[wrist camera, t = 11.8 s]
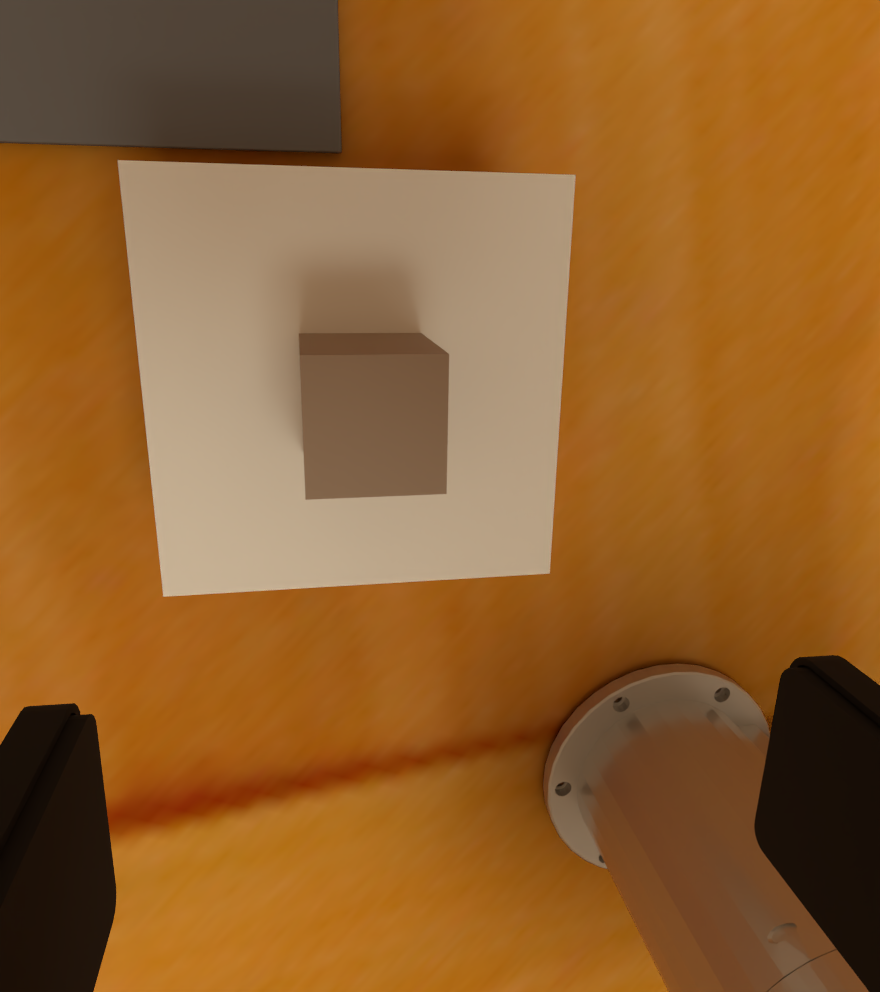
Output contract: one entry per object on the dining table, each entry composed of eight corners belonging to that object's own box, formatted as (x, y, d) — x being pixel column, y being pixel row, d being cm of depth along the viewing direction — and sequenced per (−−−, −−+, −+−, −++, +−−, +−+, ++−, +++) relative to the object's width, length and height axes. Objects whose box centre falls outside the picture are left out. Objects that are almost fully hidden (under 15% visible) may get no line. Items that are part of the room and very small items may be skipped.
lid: (565, 177, 26) (640, 160, 20) (542, 563, 30) (597, 636, 25) (124, 163, 24) (71, 139, 18) (167, 584, 28) (136, 671, 22)
